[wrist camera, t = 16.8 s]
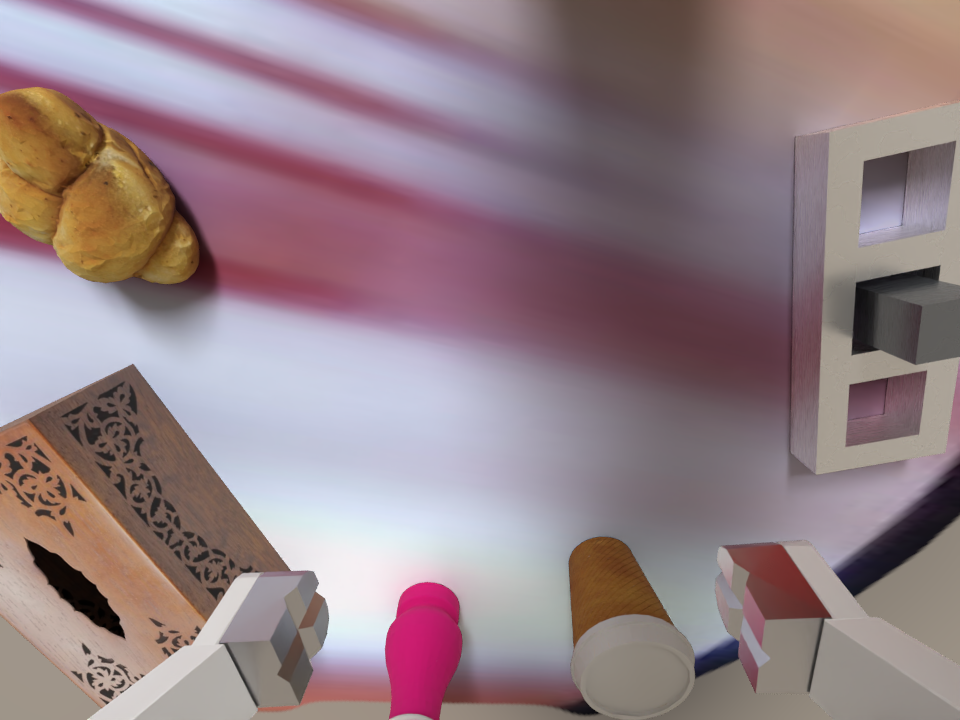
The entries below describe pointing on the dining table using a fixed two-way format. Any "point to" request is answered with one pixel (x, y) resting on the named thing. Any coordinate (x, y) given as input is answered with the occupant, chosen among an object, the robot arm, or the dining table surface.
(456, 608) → the pepper mill
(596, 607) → the disposable coffee cup
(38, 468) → the tissue box cover
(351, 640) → the dining table surface
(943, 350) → the peg
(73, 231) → the bread roll
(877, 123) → the rail
